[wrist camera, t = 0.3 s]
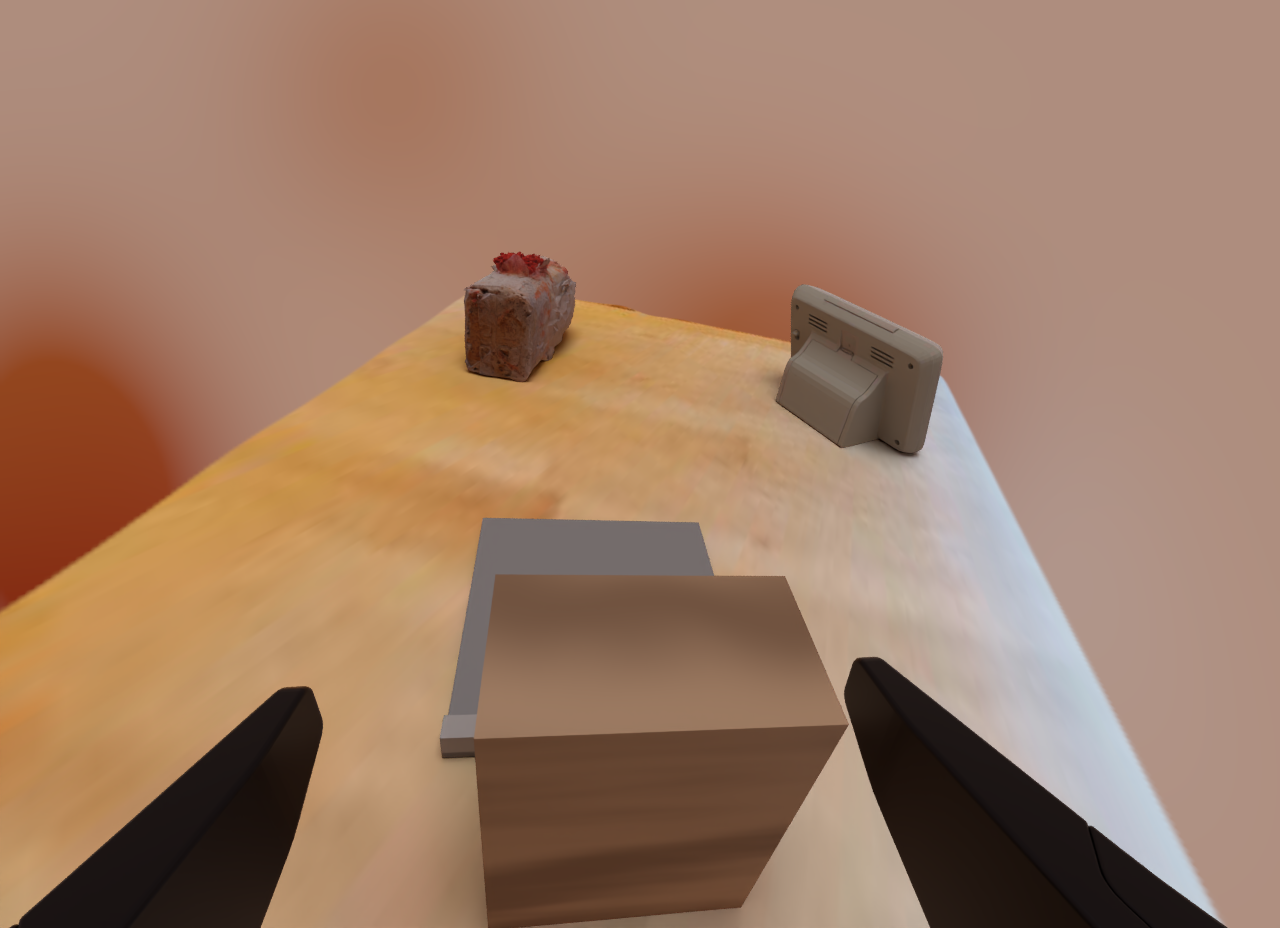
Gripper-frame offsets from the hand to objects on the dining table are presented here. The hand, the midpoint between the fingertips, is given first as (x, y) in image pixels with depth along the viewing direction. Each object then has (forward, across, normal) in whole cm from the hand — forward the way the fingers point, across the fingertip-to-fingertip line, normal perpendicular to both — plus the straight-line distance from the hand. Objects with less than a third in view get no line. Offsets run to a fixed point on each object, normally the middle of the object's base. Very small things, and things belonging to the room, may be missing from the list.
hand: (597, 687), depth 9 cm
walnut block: (+6, -1, +16) cm, 17 cm away
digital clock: (+41, -25, +14) cm, 50 cm away
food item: (+50, +6, +11) cm, 52 cm away
